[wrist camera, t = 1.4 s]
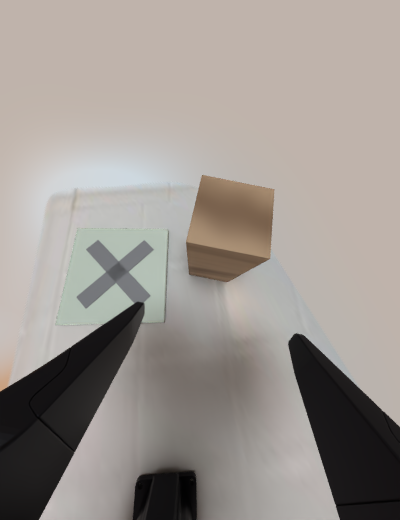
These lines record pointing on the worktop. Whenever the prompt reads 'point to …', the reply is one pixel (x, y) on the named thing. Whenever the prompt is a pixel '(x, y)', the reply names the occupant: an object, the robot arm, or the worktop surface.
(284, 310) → the worktop surface
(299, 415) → the worktop surface
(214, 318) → the worktop surface
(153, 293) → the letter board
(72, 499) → the worktop surface
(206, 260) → the walnut block
